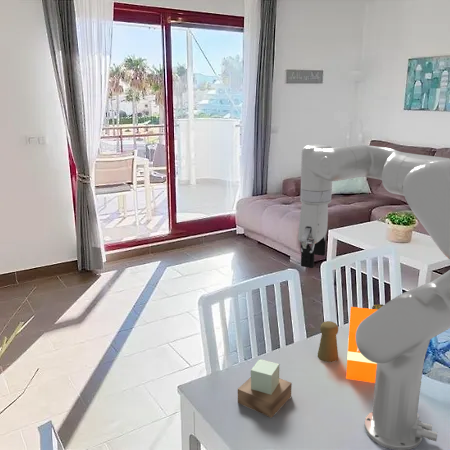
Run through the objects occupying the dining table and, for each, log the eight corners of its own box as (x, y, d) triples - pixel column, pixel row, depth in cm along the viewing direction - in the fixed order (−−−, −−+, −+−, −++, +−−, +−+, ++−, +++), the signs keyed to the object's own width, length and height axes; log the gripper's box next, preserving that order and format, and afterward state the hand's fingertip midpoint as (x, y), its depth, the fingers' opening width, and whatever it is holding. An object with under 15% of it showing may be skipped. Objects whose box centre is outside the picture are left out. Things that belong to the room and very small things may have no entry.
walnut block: (291, 397, 120) (291, 382, 118) (271, 419, 112) (271, 403, 111) (258, 384, 125) (258, 369, 124) (237, 403, 118) (237, 388, 116)
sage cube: (279, 382, 119) (279, 364, 117) (271, 394, 114) (271, 375, 112) (259, 377, 121) (259, 358, 120) (251, 388, 116) (250, 369, 115)
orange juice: (346, 363, 134) (350, 300, 128) (378, 367, 131) (384, 304, 126) (345, 379, 126) (350, 313, 121) (379, 384, 124) (385, 317, 118)
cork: (336, 351, 140) (338, 318, 137) (339, 362, 134) (341, 328, 131) (316, 350, 140) (317, 318, 137) (318, 361, 135) (320, 328, 131)
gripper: (311, 187, 123) (309, 248, 127) (289, 201, 108) (287, 269, 113) (339, 190, 119) (336, 252, 124) (320, 204, 104) (317, 274, 109)
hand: (313, 260), depth 118 cm, fingers open, 9 cm apart
